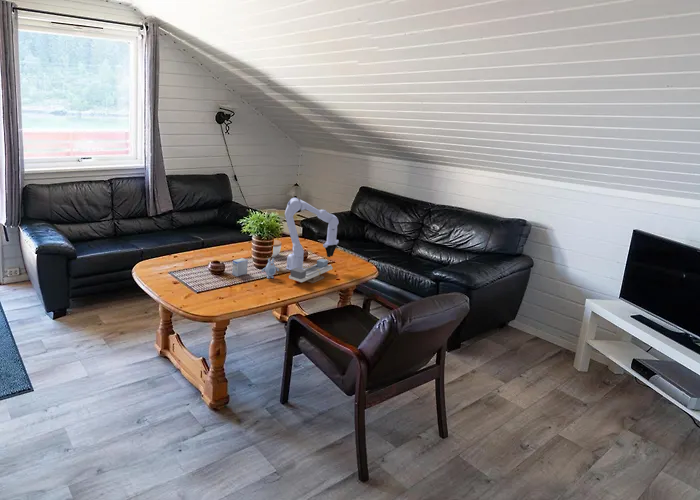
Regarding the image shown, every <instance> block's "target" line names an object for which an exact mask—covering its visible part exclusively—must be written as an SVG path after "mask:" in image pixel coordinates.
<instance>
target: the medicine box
mask: <svg viewBox="0 0 700 500" xmlns="http://www.w3.org/2000/svg"><path fill="white" fill-rule="evenodd" d="M248 261H249V260H248V259H246V258H244V257H242V258H237V259H233V260H232V266H231V267H232V270H231V275H233V276H235V277H240V276H244V275H247V274H248V266H249V265H248V264H249V263H248Z"/></svg>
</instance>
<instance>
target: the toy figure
mask: <svg viewBox="0 0 700 500" xmlns="http://www.w3.org/2000/svg"><path fill="white" fill-rule="evenodd" d="M274 262H275V257H268V259H267V264H266V266H265V267H264V268H262V269H261V272H262V273H264V272H265V274H266V275H267V276H266V278H267V279H274V275H275V274H276V273H277V272H280V268H279V267H277V266H276V265H275V263H274Z"/></svg>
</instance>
